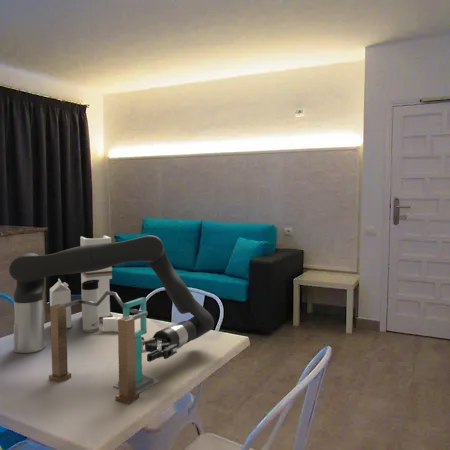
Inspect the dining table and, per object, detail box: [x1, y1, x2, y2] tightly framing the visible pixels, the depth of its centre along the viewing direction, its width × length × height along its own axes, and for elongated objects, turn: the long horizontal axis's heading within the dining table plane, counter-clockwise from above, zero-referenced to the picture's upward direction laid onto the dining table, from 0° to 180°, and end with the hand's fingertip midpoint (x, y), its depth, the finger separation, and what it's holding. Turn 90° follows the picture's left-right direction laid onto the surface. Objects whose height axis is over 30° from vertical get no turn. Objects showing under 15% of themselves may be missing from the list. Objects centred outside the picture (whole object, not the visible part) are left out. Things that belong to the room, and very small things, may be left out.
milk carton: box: [49, 278, 73, 329], centre depth 180 cm, size 7×7×19 cm
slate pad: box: [112, 379, 160, 394], centre depth 127 cm, size 9×9×1 cm
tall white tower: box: [79, 235, 114, 323], centre depth 190 cm, size 11×11×35 cm
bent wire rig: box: [48, 290, 149, 405], centre depth 126 cm, size 30×11×26 cm, turn 60°
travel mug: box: [81, 280, 100, 333], centre depth 175 cm, size 6×7×20 cm
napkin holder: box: [102, 316, 123, 333], centre depth 176 cm, size 15×11×6 cm
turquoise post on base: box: [117, 296, 155, 391], centre depth 126 cm, size 8×7×24 cm
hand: (136, 355), depth 127 cm, fingers open, 8 cm apart
